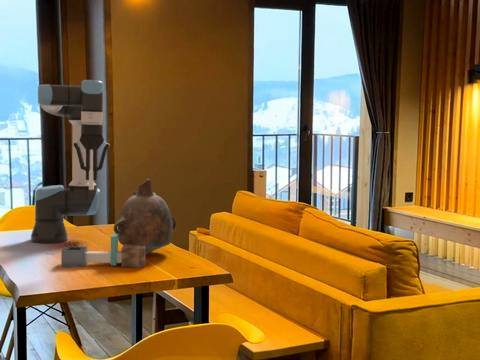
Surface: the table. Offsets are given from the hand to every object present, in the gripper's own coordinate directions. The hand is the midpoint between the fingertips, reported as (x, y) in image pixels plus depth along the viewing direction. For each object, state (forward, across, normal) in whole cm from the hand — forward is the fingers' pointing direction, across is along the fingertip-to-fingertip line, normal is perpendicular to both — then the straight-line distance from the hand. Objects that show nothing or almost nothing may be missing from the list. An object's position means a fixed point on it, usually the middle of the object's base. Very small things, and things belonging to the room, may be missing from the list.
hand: (91, 189), depth 231 cm
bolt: (+26, +7, -4) cm, 28 cm away
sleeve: (+27, -5, -4) cm, 28 cm away
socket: (+27, +16, -4) cm, 32 cm away
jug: (+28, +19, +14) cm, 37 cm away
